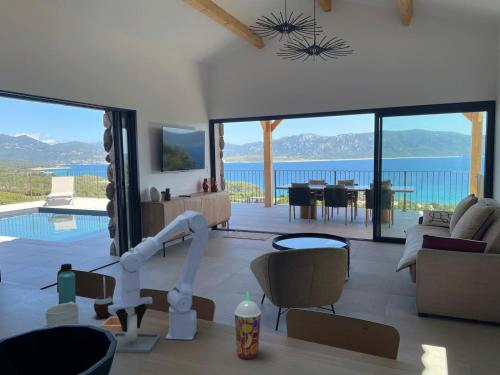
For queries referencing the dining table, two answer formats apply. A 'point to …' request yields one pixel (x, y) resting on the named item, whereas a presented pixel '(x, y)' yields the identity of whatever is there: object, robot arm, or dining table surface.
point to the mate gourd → (102, 305)
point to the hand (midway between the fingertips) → (131, 329)
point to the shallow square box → (112, 325)
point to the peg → (131, 327)
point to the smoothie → (247, 328)
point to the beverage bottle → (66, 285)
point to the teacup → (62, 314)
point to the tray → (136, 343)
